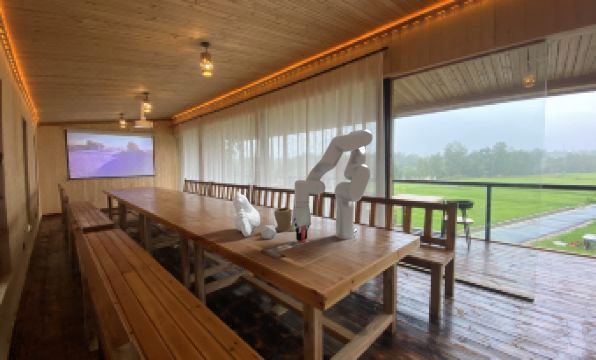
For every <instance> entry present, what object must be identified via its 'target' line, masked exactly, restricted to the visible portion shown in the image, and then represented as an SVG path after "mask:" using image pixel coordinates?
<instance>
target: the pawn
mask: <svg viewBox="0 0 596 360" xmlns="http://www.w3.org/2000/svg"><path fill="white" fill-rule="evenodd" d="M305 228H306V226H303V227H301V234H302V239H301V241H299V240H296V241H297V242H299V244H301V243H303V244H306V243H307V242H306V241H307V239H305ZM298 230H299V228H298ZM297 242H296V243H297ZM305 242H306V243H305Z"/></svg>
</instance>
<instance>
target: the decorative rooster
mask: <svg viewBox="0 0 596 360" xmlns="http://www.w3.org/2000/svg"><path fill="white" fill-rule="evenodd" d="M232 204H233V207H234V209H235V214H236V216H235V218H234V222H233V223H234V226H235V228H236V229H237V230H238V231H239V232H241V233H242V234H243V236H244V237H245V238H248V237H250V236H251V235H252V231H254V230H255V229H257V228H258V227H259V226H260V224H261V215H260V213H259V211H258V210H257V209H256V208H255V207H254V206H253V205H251V204H250V201H249V200H248V198H247V196H246V195H244V194H242V193H241V192H240V191H235V194H234V197H233V200H232Z"/></svg>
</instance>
